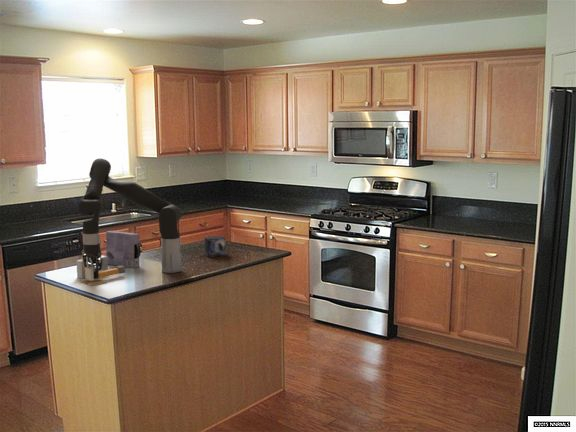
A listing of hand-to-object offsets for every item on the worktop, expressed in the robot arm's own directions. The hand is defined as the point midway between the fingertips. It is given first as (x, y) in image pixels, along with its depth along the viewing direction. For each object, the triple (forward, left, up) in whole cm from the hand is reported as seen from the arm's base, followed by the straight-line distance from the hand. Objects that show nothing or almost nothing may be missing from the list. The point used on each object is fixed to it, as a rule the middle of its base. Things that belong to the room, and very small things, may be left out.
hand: (93, 277), depth 277 cm
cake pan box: (+16, -28, -3) cm, 32 cm away
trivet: (0, 0, -2) cm, 2 cm away
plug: (0, -7, -1) cm, 7 cm away
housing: (+11, -7, -2) cm, 13 cm away
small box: (-3, -75, -3) cm, 75 cm away
